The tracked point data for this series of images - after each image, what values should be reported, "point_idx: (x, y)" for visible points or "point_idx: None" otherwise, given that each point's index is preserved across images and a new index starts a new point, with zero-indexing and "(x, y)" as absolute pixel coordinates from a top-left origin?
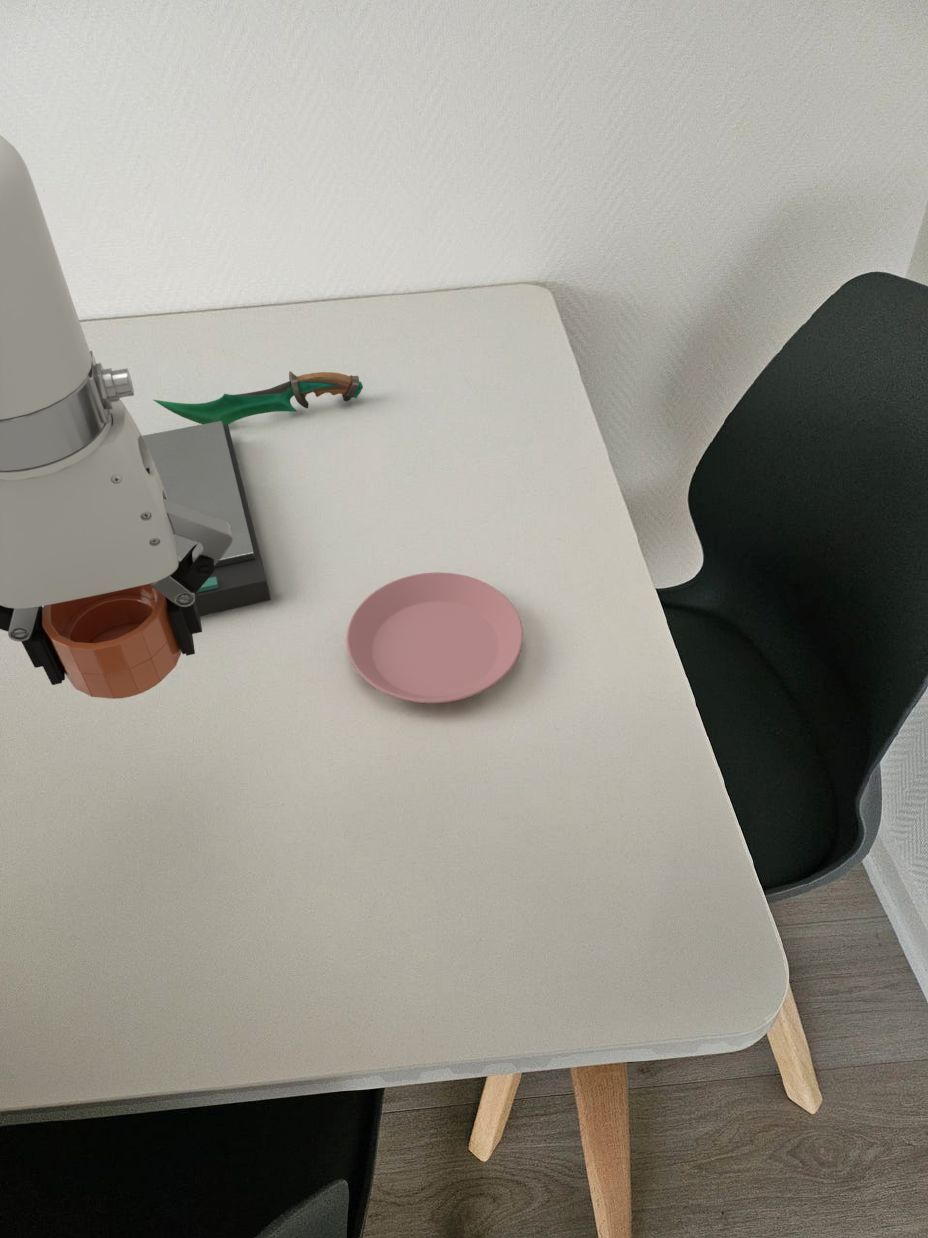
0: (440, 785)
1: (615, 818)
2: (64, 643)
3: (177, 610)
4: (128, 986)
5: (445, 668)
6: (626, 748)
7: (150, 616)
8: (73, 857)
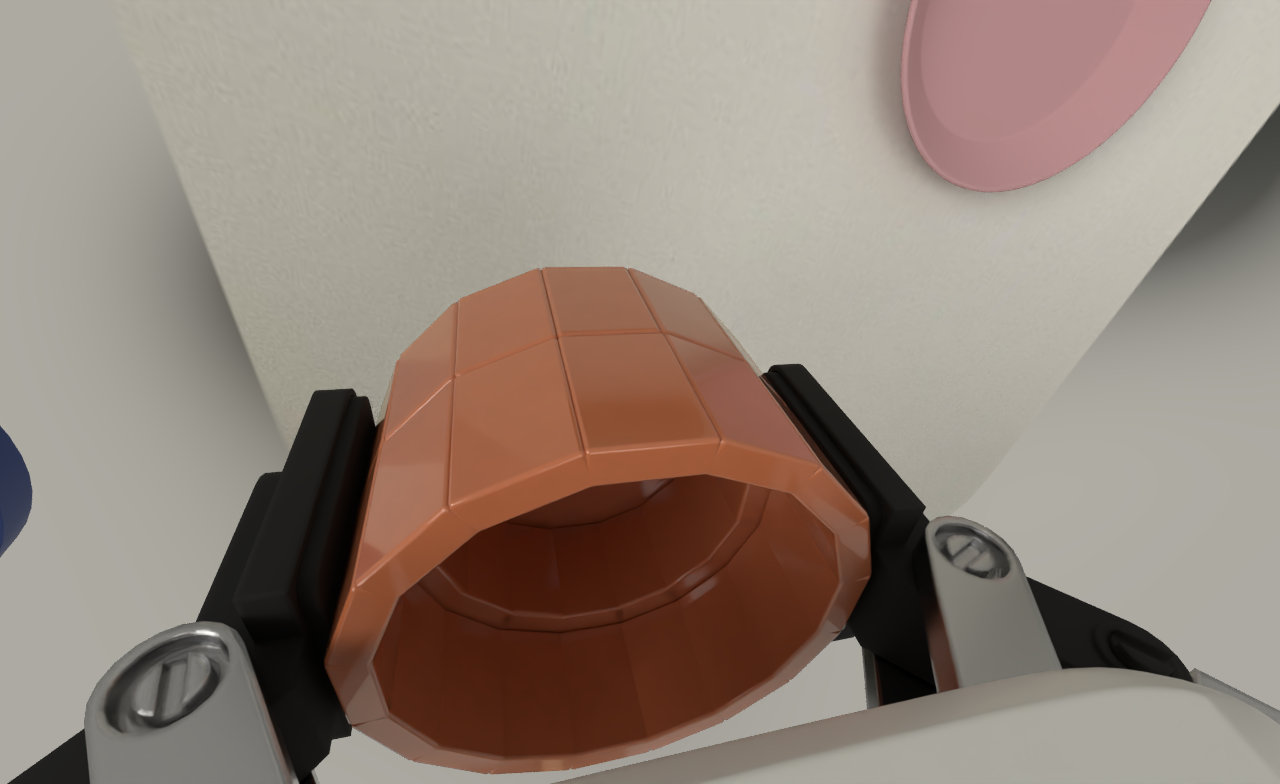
0: (866, 289)
1: (982, 374)
2: (467, 769)
3: (847, 633)
4: None
5: (1010, 74)
6: (1061, 298)
7: (771, 684)
8: (331, 263)
